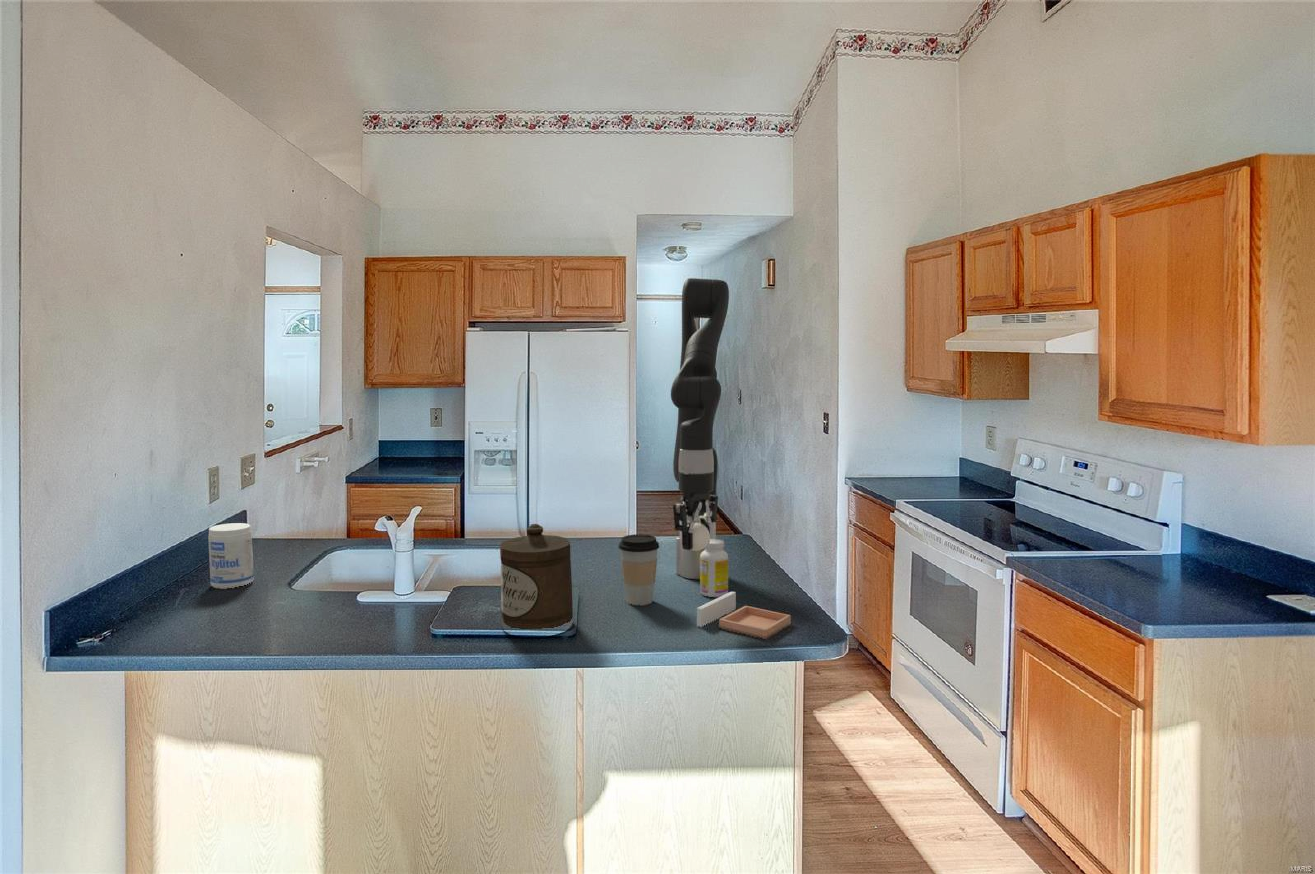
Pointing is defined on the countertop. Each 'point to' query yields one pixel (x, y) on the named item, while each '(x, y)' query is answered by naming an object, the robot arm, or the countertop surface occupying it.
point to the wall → (716, 608)
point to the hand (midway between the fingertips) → (696, 546)
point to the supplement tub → (230, 555)
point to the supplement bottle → (714, 569)
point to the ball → (700, 537)
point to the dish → (755, 622)
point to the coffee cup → (639, 567)
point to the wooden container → (536, 580)
